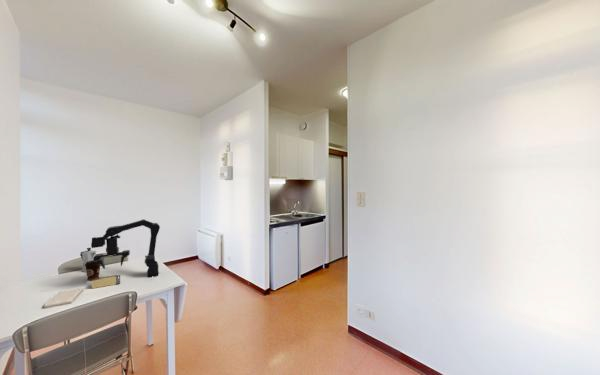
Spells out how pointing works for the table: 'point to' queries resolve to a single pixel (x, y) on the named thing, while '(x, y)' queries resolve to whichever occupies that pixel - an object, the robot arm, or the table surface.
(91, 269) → the brown rounded piece
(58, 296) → the washcloth
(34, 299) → the table surface
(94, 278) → the block
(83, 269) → the coffee maker
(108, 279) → the swing leaf
